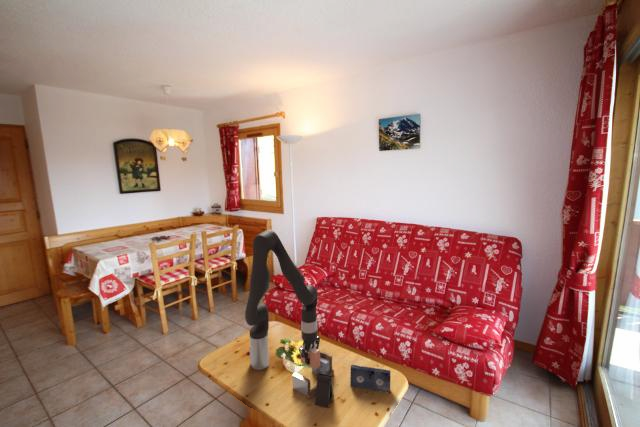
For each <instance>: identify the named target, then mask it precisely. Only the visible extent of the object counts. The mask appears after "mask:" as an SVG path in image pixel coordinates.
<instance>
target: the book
mask: <svg viewBox="0 0 640 427" xmlns="http://www.w3.org/2000/svg"><path fill="white" fill-rule="evenodd" d="M299 348H302V346H300V347H299ZM320 350H321V349H319V348H318V349H316V348H312V349H311V352H310V364H309V365H307V364H306V363H305V358H303V357H301V356H300V363H301V364H302V365H304V366H307V367H308V368H311V369H312V368H313V369H315V370H316V369H317V368H318V367H319V366H320ZM307 351H309V350H307ZM306 354H307V355H308V353H306Z"/></svg>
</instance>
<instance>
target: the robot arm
mask: <svg viewBox="0 0 640 427" xmlns="http://www.w3.org/2000/svg"><path fill="white" fill-rule="evenodd" d="M270 251H272V252H273V253H274V255H275V256H276V259H277V260H278V264H279V267H280V270H281V273H282V275H283V277H284V279H286V281H287V282H288V283H289V284H290V286H291V287H292V290H293V292H294V295H295V296H296V299H297V300H298V301H299V302H300V303H301V304H302V305H303V306H302V308H301V313H300V314H301V324H300V325H301V330H300V331H301V339H302V346H301V347H302V348H300V347H299V348H298V352H299V353H300V358H301V357H303V358H305V363H306V364H307V365H309V364H310V352H311V349H312V348H316V349H318V350H319V346H320V342H321V337H320V336H318V317H317V306H318V300H319V299H318V298H319V297H318V294H319V293H318V290H317V288H316V286H314V285H312V284H309V285H306V283H305V280H306V279H305V277H304V275H303V274H302V273H301V271H300V270H299V269H298V267H297V266H296V264H295V263H294V262H293V260H292V259H291V257H290V255H289V254H288V253H289V252H288V251H287V250H286V248H285V246H284V244H283V243H282V241H281V239H280V237H279V236H278V234H277V233H276V232H275V231H274V230H272V229H266V230H264V231H262V232H260V233H258V234H257V235H256V236H255V237H254V238H253V241H252V264H251V274H250V281H249V282H250V283H249V293H248V298H247V302H246V307H245V312H244V318H245V322H246V324H247V325H248V326H252V327H251V328H250V329H249V343H250V344H249V345H250V347H249V350H248V351H249V363H250V364H249V365H251V368H252V369H253V370H256V371H262V370H265V369H267V368H268V367H269V365H270V350H269V326H270V324H269V320H270V318H269V316H270V314H269V309H268V306H267V305H266V304H265V303H263V302H261V300H262V299H263V297H264V296H265V294H266V293H267V291H268V290H269V286H270V281H271V272H270V269H269V266H268V264H267V263H268V262H267V261H268V258H269V257H268V256H269V253H270ZM307 350H309V351H307ZM306 353H308V355H307V354H306ZM307 365H306V366H307Z"/></svg>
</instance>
